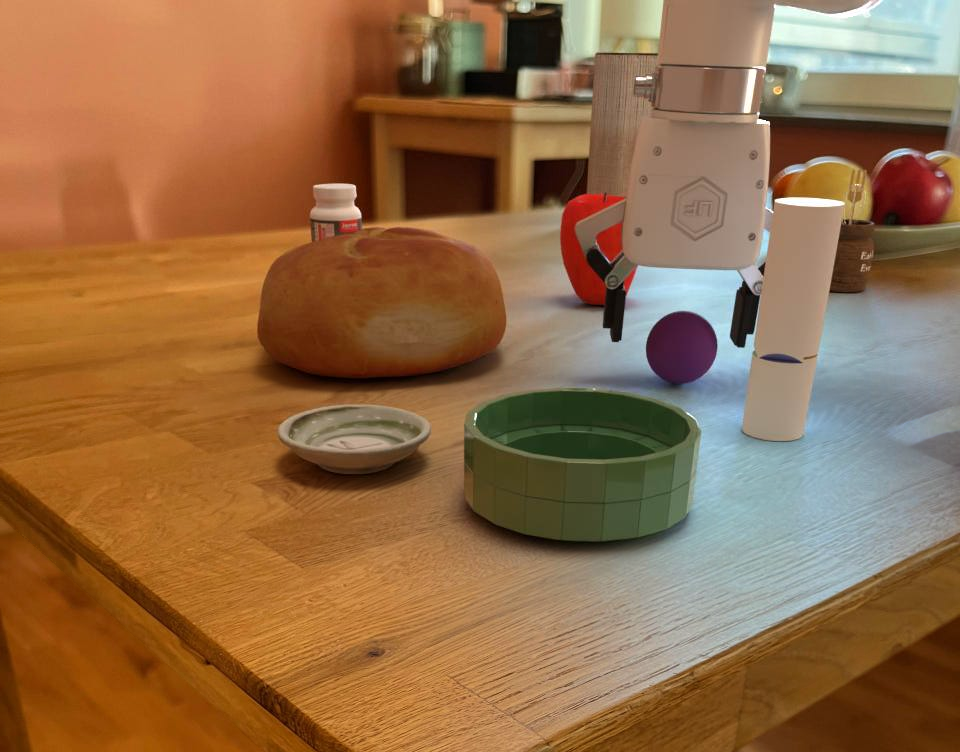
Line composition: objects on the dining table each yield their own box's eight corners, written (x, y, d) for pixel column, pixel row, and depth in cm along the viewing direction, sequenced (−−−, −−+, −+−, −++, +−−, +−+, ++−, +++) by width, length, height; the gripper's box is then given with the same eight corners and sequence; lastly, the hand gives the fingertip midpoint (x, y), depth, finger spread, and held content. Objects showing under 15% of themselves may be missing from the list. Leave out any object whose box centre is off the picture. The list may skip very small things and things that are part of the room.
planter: (616, 216, 163) (628, 52, 152) (663, 223, 157) (679, 53, 145) (571, 221, 158) (580, 52, 146) (619, 229, 151) (632, 53, 140)
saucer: (462, 460, 66) (462, 424, 65) (350, 502, 60) (348, 463, 59) (361, 427, 72) (359, 393, 70) (249, 462, 65) (245, 425, 64)
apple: (540, 298, 109) (545, 188, 103) (608, 291, 112) (616, 185, 107) (585, 315, 102) (592, 199, 97) (656, 307, 106) (667, 195, 100)
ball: (707, 373, 84) (716, 304, 82) (717, 393, 80) (727, 320, 77) (639, 372, 85) (646, 303, 82) (645, 391, 80) (652, 319, 77)
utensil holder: (811, 291, 114) (831, 174, 108) (812, 280, 119) (831, 168, 113) (866, 295, 112) (890, 176, 106) (865, 284, 118) (887, 170, 112)
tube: (779, 418, 74) (816, 196, 67) (816, 437, 71) (859, 205, 63) (729, 425, 73) (761, 198, 65) (764, 444, 69) (802, 207, 62)
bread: (198, 347, 90) (183, 226, 85) (410, 311, 103) (408, 204, 98) (340, 409, 75) (332, 267, 70) (568, 358, 88) (574, 235, 83)
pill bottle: (351, 286, 113) (346, 190, 108) (305, 283, 115) (298, 187, 110) (372, 277, 118) (368, 184, 113) (327, 274, 119) (322, 181, 114)
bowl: (675, 467, 65) (684, 390, 63) (704, 555, 54) (716, 466, 52) (471, 461, 66) (471, 385, 63) (457, 547, 55) (457, 459, 52)
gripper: (586, 94, 69) (568, 348, 78) (843, 104, 68) (795, 358, 77) (582, 89, 75) (565, 324, 84) (817, 98, 75) (776, 333, 84)
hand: (675, 340), depth 81 cm, fingers open, 9 cm apart
